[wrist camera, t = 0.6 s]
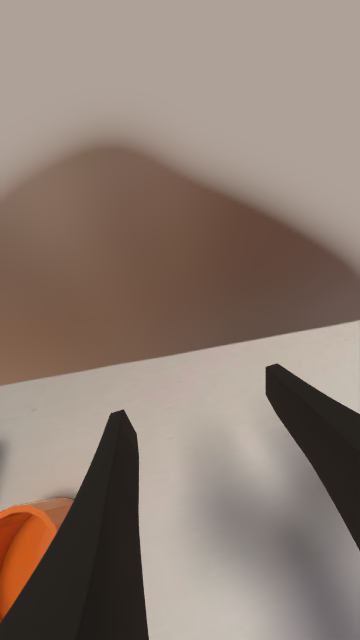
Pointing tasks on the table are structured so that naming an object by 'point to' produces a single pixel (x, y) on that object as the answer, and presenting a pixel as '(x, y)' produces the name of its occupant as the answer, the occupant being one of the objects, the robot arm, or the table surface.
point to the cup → (26, 543)
